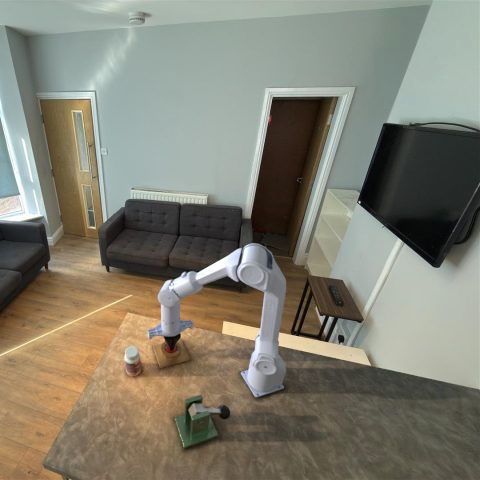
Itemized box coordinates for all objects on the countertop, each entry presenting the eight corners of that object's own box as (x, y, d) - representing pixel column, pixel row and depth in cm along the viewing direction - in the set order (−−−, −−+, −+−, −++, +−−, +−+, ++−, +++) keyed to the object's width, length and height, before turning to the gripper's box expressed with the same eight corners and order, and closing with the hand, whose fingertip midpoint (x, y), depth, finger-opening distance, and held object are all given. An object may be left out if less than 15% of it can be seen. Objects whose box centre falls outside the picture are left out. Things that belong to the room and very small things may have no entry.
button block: (180, 340, 91) (181, 334, 90) (189, 360, 84) (189, 353, 83) (153, 348, 89) (153, 341, 88) (159, 368, 82) (159, 361, 81)
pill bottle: (138, 377, 79) (137, 359, 76) (124, 375, 80) (121, 356, 76) (142, 364, 84) (141, 346, 80) (128, 361, 84) (126, 343, 81)
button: (174, 345, 88) (174, 341, 87) (177, 354, 85) (178, 350, 84) (164, 348, 87) (164, 344, 86) (167, 357, 84) (167, 353, 83)
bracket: (205, 409, 71) (207, 387, 67) (217, 436, 65) (221, 415, 61) (174, 419, 69) (174, 398, 64) (184, 449, 63) (184, 428, 58)
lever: (222, 410, 70) (228, 402, 69) (228, 422, 67) (234, 414, 66) (186, 408, 65) (193, 400, 64) (191, 422, 62) (198, 413, 61)
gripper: (188, 302, 84) (187, 333, 90) (144, 312, 81) (146, 343, 87) (196, 318, 78) (195, 349, 84) (149, 329, 75) (151, 361, 81)
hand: (170, 347), depth 85 cm, fingers closed, pressing on button
